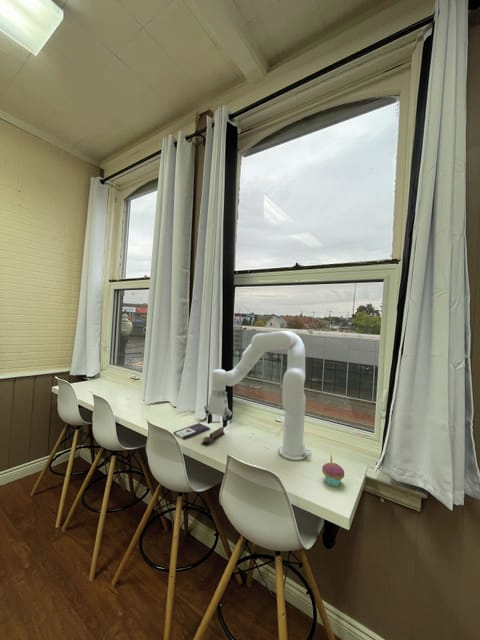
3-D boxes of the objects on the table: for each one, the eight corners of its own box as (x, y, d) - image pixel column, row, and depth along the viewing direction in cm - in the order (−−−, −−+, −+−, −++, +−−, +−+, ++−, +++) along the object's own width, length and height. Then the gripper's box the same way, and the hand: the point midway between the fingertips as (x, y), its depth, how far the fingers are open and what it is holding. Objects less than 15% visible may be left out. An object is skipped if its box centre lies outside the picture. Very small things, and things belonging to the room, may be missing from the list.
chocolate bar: (209, 427, 152) (184, 437, 138) (209, 429, 152) (184, 439, 138) (199, 423, 157) (174, 431, 143) (198, 424, 157) (173, 433, 143)
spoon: (218, 431, 148) (219, 426, 148) (225, 433, 146) (226, 428, 146) (201, 441, 134) (201, 436, 134) (208, 444, 132) (209, 438, 132)
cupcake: (335, 491, 101) (336, 460, 101) (317, 480, 107) (318, 450, 108) (348, 484, 106) (349, 454, 106) (329, 473, 112) (331, 445, 113)
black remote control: (220, 432, 148) (220, 431, 148) (224, 434, 146) (224, 432, 146) (201, 444, 133) (201, 442, 133) (206, 445, 132) (206, 444, 132)
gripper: (235, 393, 140) (234, 426, 140) (209, 388, 149) (208, 419, 149) (228, 397, 134) (227, 431, 134) (201, 391, 142) (200, 423, 142)
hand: (217, 424), depth 141 cm, fingers open, 9 cm apart
